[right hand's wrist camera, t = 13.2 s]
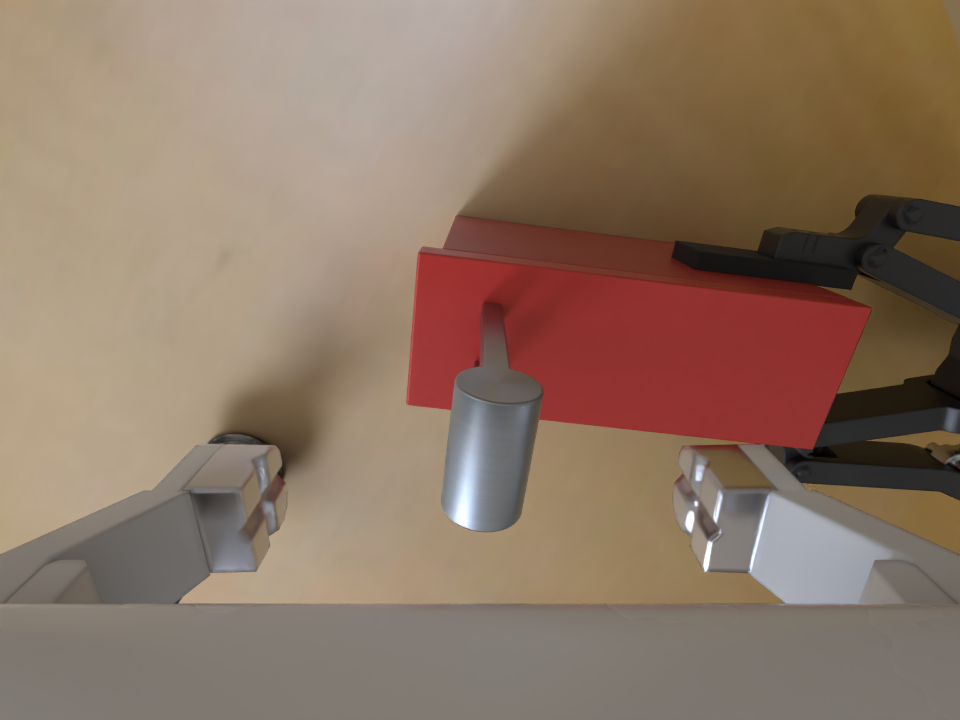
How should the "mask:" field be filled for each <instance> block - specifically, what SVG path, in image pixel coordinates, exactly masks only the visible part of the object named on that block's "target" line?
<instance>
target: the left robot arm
mask: <svg viewBox="0 0 960 720" xmlns="http://www.w3.org/2000/svg"><path fill="white" fill-rule="evenodd" d="M855 216H856V218H855V220H854V221H853V222H852V224H851V225H850V226H849V227H848V228H846V229H845V230H844V231H842V232H840V233H836V234H835V233H819V232H811V231H804V230H796V229H788V228H780V227H776V228H772V229H768V230H764V233H763V236H762V239H761V242H760V245H759V248H758V251H753V250H745V249H737V248H729V247H722V246H714V245H706V244H698V243H690V242H682V241H675V245H674V249H673V253H672V258H674V259H676V260H678V261H680V262H681V263H683V264H685V265H687V266H689V267H691V268H693V269H694V270H701V271H709V272H717V273H725V274H733V275H741V276H749V277H757V278H766V279H774V280H782V281H790V282H798V283H806V284H813V285H816V286H824V287H832V288H840V289H848V290H851V289H852V286H853V284H854V281H855V279H856V276H857V275H859V276H861V277H863V278H865V279H867V280H869V281H871V282H873V283H875V284H877V285H879V286H881V287H883V288H885V289H887V290H889V291H891V292H893V293H895V294H897V295H899V296H902V297H904V298H906V299H908V300H910V301H912V302H914V303H916V304H918V305H920V306H922V307H924V308H926V309H928V310H930V311H932V312H934V313H936V315H938V316H940V317H942V318H944V319H946V320H948V321H950V322H952V323H954V324H956V325H958V328H957V330H956V332H955V334H954V336H953V338H952V341H951V346H950V351H949V354H948V356H947V357H946V359H945V360H944V361H943V362H942V364H941V365H940V366H939V367H938V369H937V370H936V372H935V374H934V375H928V376H921V377H914V378H908V379H905V380H904V384H902V385H896V386H889V387H882V388H875V389H868V390H861V391H855V392H848V393H841V394H836V396H835V398H834V401H833V403H832V406H831V408H830V410H829V413H828V415H827V417H826V420H825V422H824V424H823V427H822V429H821V432H820V434H819V436H818V439H817V441H816V443H815V446H814V448H813V449H802V448H793V447H784V446H775V445H766V444H765V447H766V448H767V449H768V450H769V451H770V452H771V453H772V454H773V455H774V456H775V457H776V458H777V459H778V460H779V461H780V462H781V463H782V464H783V465H784V466H785V467H786V468H787V470H788V471H789V472H790V473H791V474H792V475H793V476H794V477H795V478H796V479H797V480H798V481H799V482H800V483H810V484H826V485H843V486H859V487H875V488H891V489H907V490H923V491H939V492H942V493H944V494H946V495H949V496H951V497H953V498H955V499H958V500H960V444H958V445H947V444H946V445H941V446H940V445H938V444H936V443H934V442H933V443H929V444H927V445H926V447H925V449H924V448H922V447H919V446H916V445H911V444H905V443H892V442H877V441H866V440H873V439H880V438H887V437H894V436H901V435H908V434H916V433H923V432H930V431H937V430H943V431H947V432H951V433H957V434H960V282H959V281H957V280H955V279H953V278H951V277H949V276H947V275H945V274H943V273H941V272H939V271H937V270H935V269H933V268H931V267H929V266H927V265H925V264H923V263H921V262H919V261H917V260H915V259H914V258H912V257H910V256H908V255H906V254H904V253H902V252H900V251H898V250H896V249H894V248H893V247H894V246H895V245H896V243H897V242H898V241H899V240H900V238H901V237H902V236H903V235H904V233H905V232H906V231H908V232H913V233H919V234H924V235H929V236H935V237H940V238H945V239H951V240H956V241H960V207H959V206H954V205H948V204H943V203H938V202H933V201H928V200H922V199H914V198H905V197H895V196H886V195H876V194H875V195H868V196H866V197H864V198H863V199H862V200H860V201H859V203H858V204H857V206H856V210H855Z"/></svg>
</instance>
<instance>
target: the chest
mask: <svg viewBox="0 0 960 720" xmlns="http://www.w3.org/2000/svg"><path fill="white" fill-rule="evenodd" d="M674 245H675V243H669V242H661V241H653V240H645V239H637V238H629V237H622V236H614V235H606V234H598V233H590V232H582V231H574V230H566V229H558V228H550V227H542V226H535V225H527V224H519V223H511V222H503V221H495V220H487V219H479V218H471V217H463V216H456V217H455V220H454V222H453V225H452V227H451V230H450V232H449V234H448V237H447V239H446V242H445V244H444V247H443V249H447V250H455V251H463V252H471V253H479V254H488V255H496V256H504V257H512V258H520V259H528V260H536V261H544V262H552V263H560V264H568V265H577V266H585V267H593V268H601V269H609V270H617V271H625V272H633V273H641V274H649V275H657V276H666V277H674V278H682V279H690V280H698V281H706V282H714V283H722V284H730V285H738V286H746V287H755V288H763V289H771V290H779V291H787V292H795V293H803V294H811V295H819V296H827V297H835V298H844V299H848V298H846V297H844V296H841V295H839V294H836V293H834V292H831V291H828V290H826V289H823V288H821V287H818V286H816V285H813V284H806V283H798V282H790V281H782V280H774V279H766V278H757V277H749V276H741V275H733V274H725V273H717V272H709V271H701V270H694V269H693V268H691V267H689V266H687V265H685V264H683V263H681V262H680V261H678V260H676V259H674V258H672V253H673V249H674Z"/></svg>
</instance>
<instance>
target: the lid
mask: <svg viewBox="0 0 960 720" xmlns="http://www.w3.org/2000/svg"><path fill="white" fill-rule="evenodd" d="M871 311H872V308H870V307H869V306H866V305H863V304H861V303H858V302H856V301H853V300H851V299H844V298H835V297H827V296H819V295H811V294H803V293H795V292H787V291H779V290H771V289H763V288H755V287H746V286H738V285H730V284H722V283H714V282H706V281H698V280H690V279H682V278H674V277H666V276H657V275H649V274H641V273H633V272H625V271H617V270H609V269H601V268H593V267H585V266H577V265H568V264H560V263H552V262H544V261H536V260H528V259H520V258H512V257H504V256H496V255H488V254H479V253H471V252H463V251H455V250H447V249H439V248H431V247H422V248H421V249H420V251H419V253H418V257H417V270H416V283H415V296H414V309H413V322H412V335H411V348H410V361H409V374H408V387H407V400H406V403H407V405H412V406H421V407H430V408H439V409H448V410H451V417H450V426H449V435H448V443H447V452H446V461H445V470H444V479H443V487H442V496H441V504H442V508H443V510H444V512H445V514H446V515H447V516H448V517H449V518H450V519H451V520H452V521H453V522H455V523H456V524H458V525H460V526H462V527H464V528H467V529H470V530H473V531H479V532H496V531H501V530H504V529H507V528H509V527H511V526H512V525H513V524H515V523H516V522H517V520H518V519H519V518H520V516H521V513H522V507H523V502H524V497H525V491H526V486H527V481H528V475H529V470H530V465H531V459H532V454H533V449H534V443H535V438H536V432H537V427H538V422H539V420H548V421H557V422H566V423H575V424H585V425H594V426H603V427H612V428H621V429H630V430H639V431H648V432H657V433H666V434H675V435H684V436H693V437H702V438H712V439H721V440H730V441H739V442H748V443H757V444H766V445H775V446H784V447H793V448H802V449H813V448H814V446H815V443H816V441H817V439H818V436H819V434H820V432H821V429H822V427H823V424H824V422H825V420H826V417H827V415H828V413H829V410H830V408H831V406H832V403H833V401H834V398H835V396H836V394H837V391H838V389H839V387H840V384H841V382H842V379H843V377H844V375H845V372H846V370H847V368H848V365H849V363H850V360H851V358H852V356H853V353H854V351H855V349H856V346H857V344H858V342H859V339H860V337H861V334H862V332H863V330H864V327H865V325H866V323H867V320H868V318H869V315H870V313H871Z"/></svg>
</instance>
